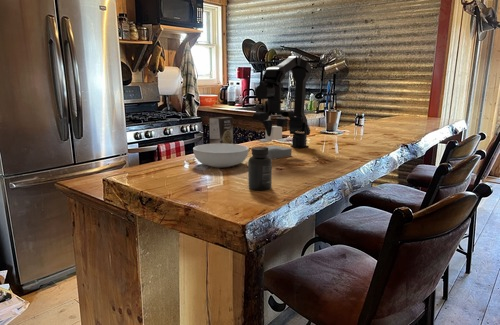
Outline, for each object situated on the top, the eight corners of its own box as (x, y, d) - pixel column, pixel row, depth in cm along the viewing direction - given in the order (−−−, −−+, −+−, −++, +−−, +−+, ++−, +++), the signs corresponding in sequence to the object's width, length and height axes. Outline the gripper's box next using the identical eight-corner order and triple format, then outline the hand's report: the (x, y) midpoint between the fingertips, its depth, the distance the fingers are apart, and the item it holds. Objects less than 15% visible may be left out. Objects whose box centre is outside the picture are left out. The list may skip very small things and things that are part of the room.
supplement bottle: (271, 184, 110) (271, 146, 108) (271, 191, 104) (272, 150, 101) (248, 184, 111) (248, 146, 108) (247, 191, 104) (247, 150, 101)
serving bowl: (242, 173, 125) (242, 153, 124) (185, 170, 129) (184, 151, 128) (253, 160, 145) (253, 143, 144) (204, 158, 149) (203, 142, 148)
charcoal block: (274, 153, 163) (274, 145, 163) (291, 156, 155) (291, 148, 154) (255, 155, 157) (255, 148, 156) (272, 160, 148) (272, 151, 147)
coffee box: (221, 156, 153) (220, 118, 150) (209, 155, 156) (208, 117, 153) (233, 153, 161) (233, 116, 157) (222, 151, 164) (221, 116, 160)
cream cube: (274, 137, 158) (274, 125, 156) (282, 138, 154) (282, 126, 153) (265, 138, 155) (265, 126, 153) (273, 139, 151) (273, 127, 150)
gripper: (277, 97, 162) (277, 131, 166) (244, 98, 151) (244, 135, 155) (295, 98, 154) (294, 134, 157) (261, 99, 143) (261, 138, 146)
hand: (273, 135), depth 154 cm, fingers closed on cream cube, 5 cm apart
